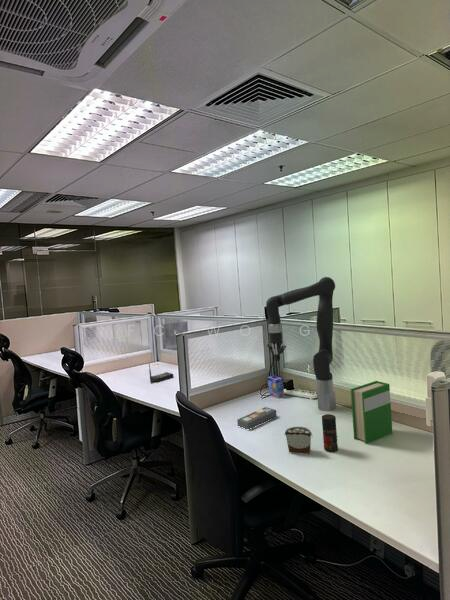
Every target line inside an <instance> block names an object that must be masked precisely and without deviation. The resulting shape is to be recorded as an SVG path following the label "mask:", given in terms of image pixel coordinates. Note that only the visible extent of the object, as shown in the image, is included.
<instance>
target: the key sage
mask: <svg viewBox="0 0 450 600" xmlns="http://www.w3.org/2000/svg"><path fill="white" fill-rule="evenodd" d="M242 420H243V421H246V422H249V421H251V420H252V418H249V417H246V418H244V419H242Z"/></svg>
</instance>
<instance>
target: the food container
mask: <svg viewBox="0 0 450 600" xmlns="http://www.w3.org/2000/svg"><path fill="white" fill-rule="evenodd" d="M283 436H285V438H286V443H287V447H288V448H287V449H288V453H289V452H292V453H291V454H299V453H303V455H311V445H312V442H311V439H312V436H313V434H312V431H311V429H310V428H308V427H304V426H292V427H289V428H287V429H286V430H285V432H284V435H283Z"/></svg>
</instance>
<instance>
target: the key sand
mask: <svg viewBox="0 0 450 600" xmlns="http://www.w3.org/2000/svg"><path fill="white" fill-rule="evenodd" d="M254 412H255V414H257V415H261V416H262V415H264V414H265V410H262V408H258V409H256V410H255V411H254Z"/></svg>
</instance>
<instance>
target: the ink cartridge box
mask: <svg viewBox="0 0 450 600" xmlns="http://www.w3.org/2000/svg"><path fill="white" fill-rule="evenodd" d="M267 386H268V393H269V396H271V397H274V398H275V399H279V398H284V397H285V390H284V381H283V378H282V377H280V376H277V375H275V374H273V373H271V375H270V376H267Z"/></svg>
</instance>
